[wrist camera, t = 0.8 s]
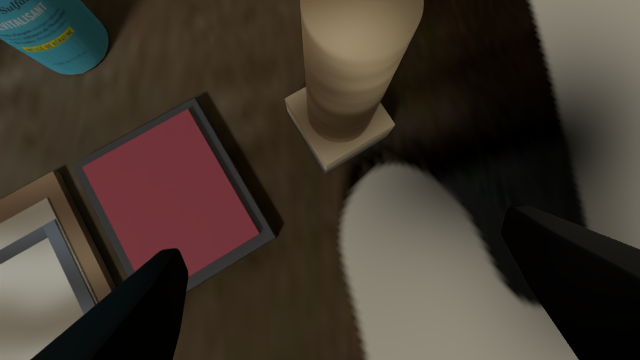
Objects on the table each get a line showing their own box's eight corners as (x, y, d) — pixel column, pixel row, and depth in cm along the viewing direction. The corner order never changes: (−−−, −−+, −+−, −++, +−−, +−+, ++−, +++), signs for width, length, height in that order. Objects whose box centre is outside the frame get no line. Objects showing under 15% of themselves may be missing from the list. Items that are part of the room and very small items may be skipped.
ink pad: (277, 237, 21) (274, 237, 20) (155, 311, 20) (144, 317, 19) (199, 103, 23) (192, 95, 21) (83, 167, 22) (67, 163, 20)
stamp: (385, 137, 23) (469, 23, 10) (325, 173, 22) (337, 99, 10) (347, 81, 23) (384, -92, 11) (288, 114, 23) (256, -26, 10)
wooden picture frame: (166, 390, 20) (160, 396, 19) (-19, 508, 19) (-34, 520, 18) (59, 172, 22) (50, 170, 21) (-113, 267, 21) (-130, 268, 20)
